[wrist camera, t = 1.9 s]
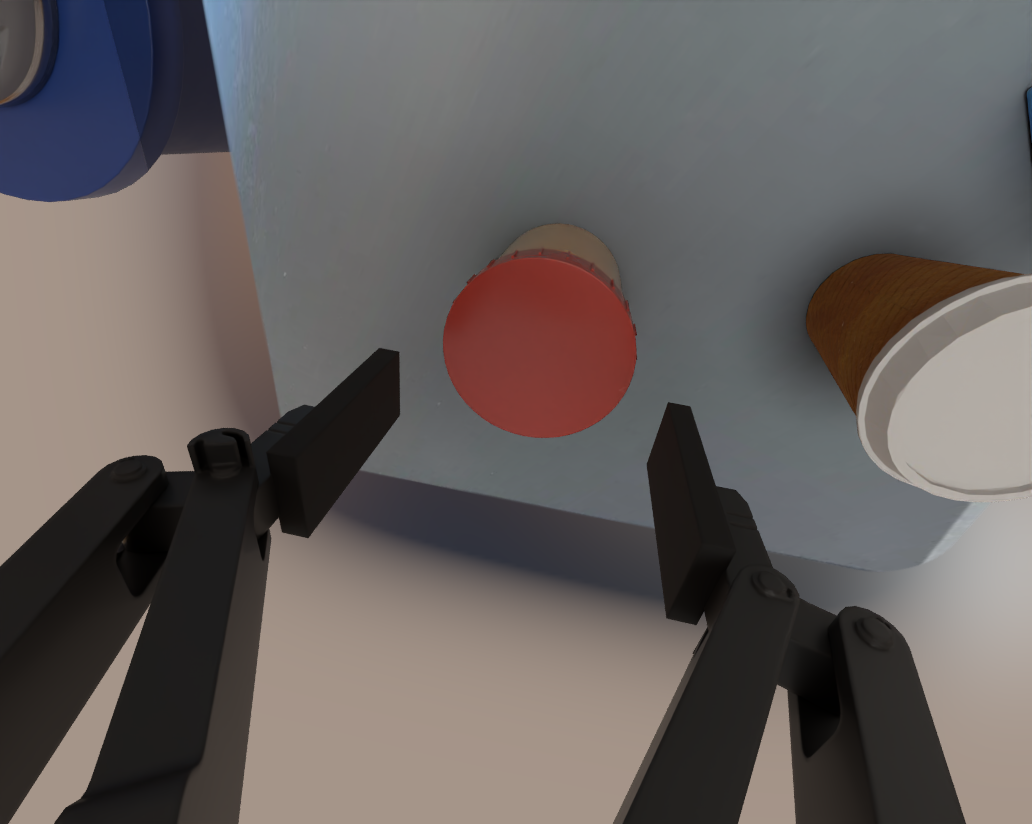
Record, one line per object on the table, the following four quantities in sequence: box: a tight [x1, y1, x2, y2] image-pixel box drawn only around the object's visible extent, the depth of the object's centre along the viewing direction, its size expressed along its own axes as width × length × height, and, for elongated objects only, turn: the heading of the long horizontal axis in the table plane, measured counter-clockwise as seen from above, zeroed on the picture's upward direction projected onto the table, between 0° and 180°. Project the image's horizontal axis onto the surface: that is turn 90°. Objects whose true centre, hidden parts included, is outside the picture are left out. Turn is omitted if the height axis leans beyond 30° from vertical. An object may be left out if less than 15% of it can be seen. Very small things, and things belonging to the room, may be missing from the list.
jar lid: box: [443, 247, 637, 438], centre depth 21 cm, size 9×9×2 cm
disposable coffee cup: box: [806, 254, 1032, 502], centre depth 22 cm, size 10×10×12 cm
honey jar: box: [500, 224, 623, 295], centre depth 25 cm, size 8×8×10 cm
